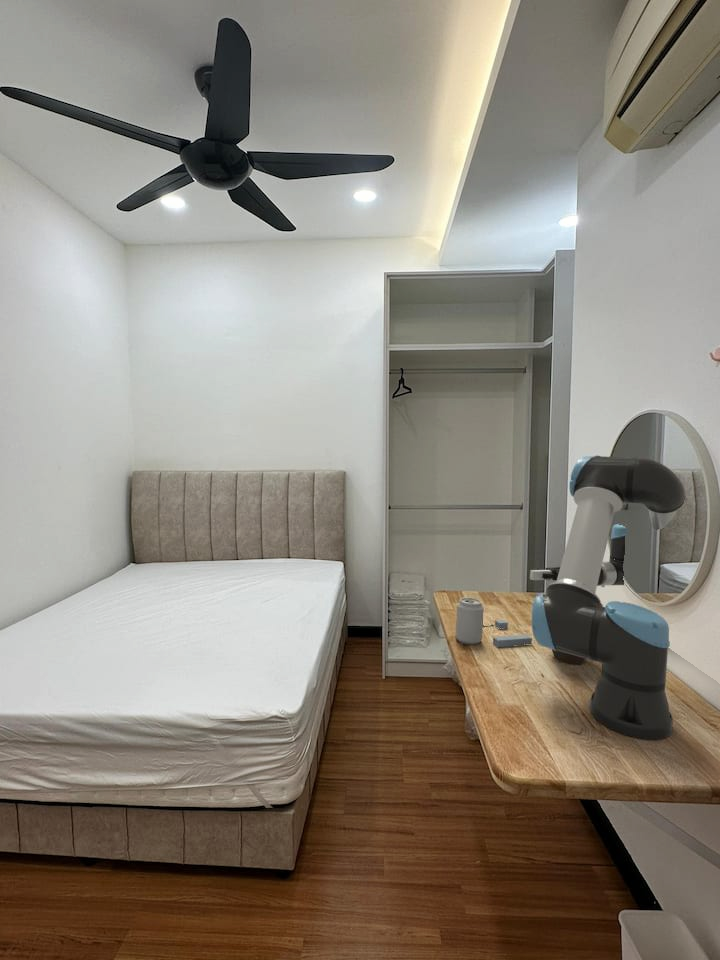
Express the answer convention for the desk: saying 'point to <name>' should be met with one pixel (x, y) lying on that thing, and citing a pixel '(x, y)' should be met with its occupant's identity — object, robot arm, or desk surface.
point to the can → (469, 621)
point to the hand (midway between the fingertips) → (531, 575)
